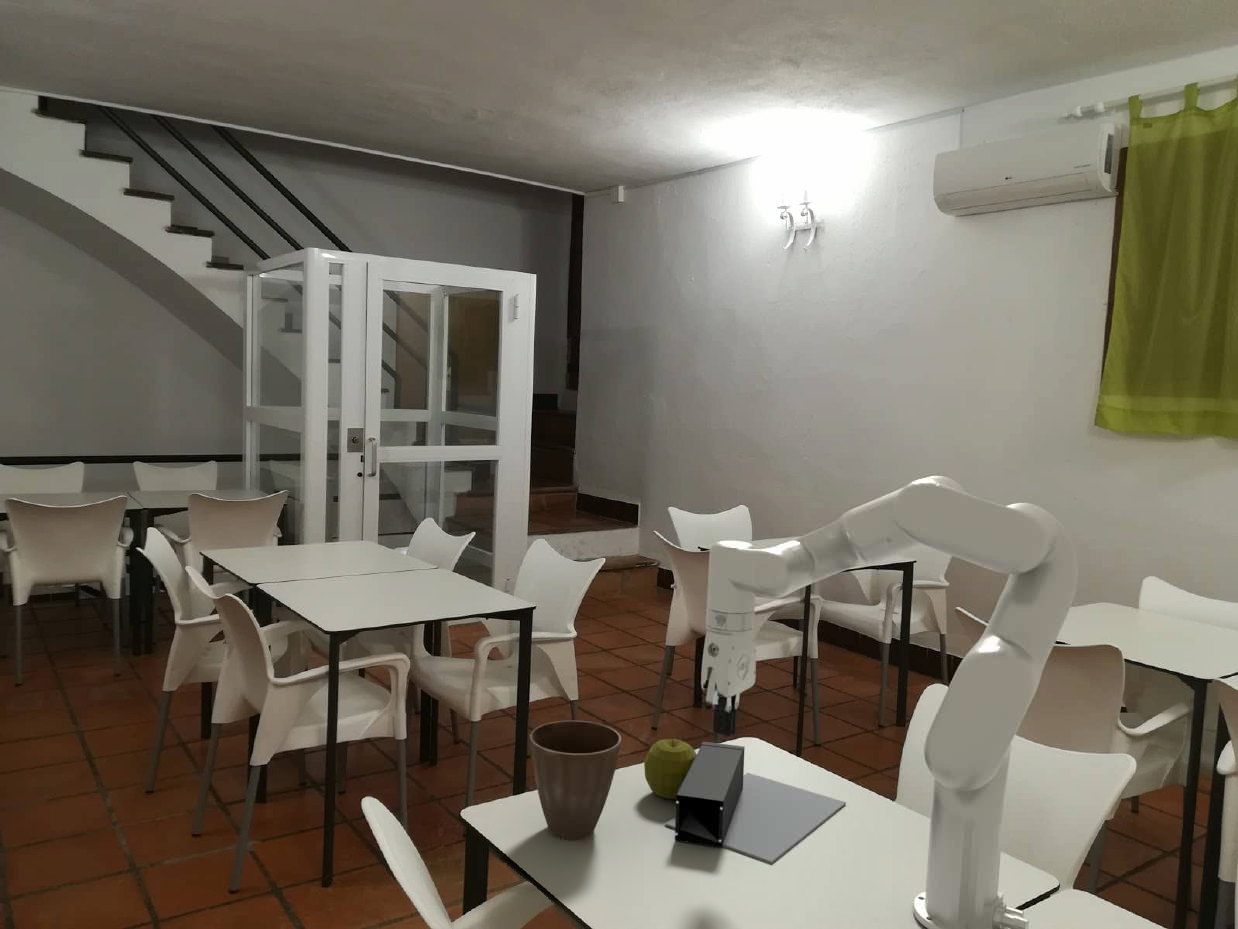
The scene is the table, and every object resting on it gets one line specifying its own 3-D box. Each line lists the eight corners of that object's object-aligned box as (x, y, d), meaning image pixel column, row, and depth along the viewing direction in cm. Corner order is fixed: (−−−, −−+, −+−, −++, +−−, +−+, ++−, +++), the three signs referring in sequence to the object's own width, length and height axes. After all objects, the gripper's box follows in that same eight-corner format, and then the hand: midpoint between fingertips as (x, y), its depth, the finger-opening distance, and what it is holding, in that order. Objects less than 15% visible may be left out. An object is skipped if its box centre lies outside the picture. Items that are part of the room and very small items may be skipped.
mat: (845, 804, 174) (845, 802, 174) (771, 864, 151) (771, 861, 150) (747, 774, 186) (747, 772, 186) (664, 825, 162) (665, 823, 162)
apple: (636, 801, 171) (639, 741, 171) (650, 781, 181) (653, 724, 180) (691, 811, 169) (694, 749, 168) (703, 789, 178) (705, 731, 177)
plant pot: (635, 836, 158) (639, 741, 157) (560, 861, 149) (564, 760, 147) (581, 803, 170) (585, 715, 168) (509, 824, 160) (512, 730, 159)
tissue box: (723, 801, 154) (747, 740, 181) (675, 794, 156) (705, 735, 183) (721, 848, 154) (745, 781, 181) (673, 841, 156) (704, 775, 183)
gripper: (727, 632, 144) (721, 752, 145) (773, 616, 156) (767, 726, 157) (684, 623, 148) (679, 740, 150) (732, 608, 160) (726, 716, 162)
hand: (724, 732), depth 153 cm, fingers closed
